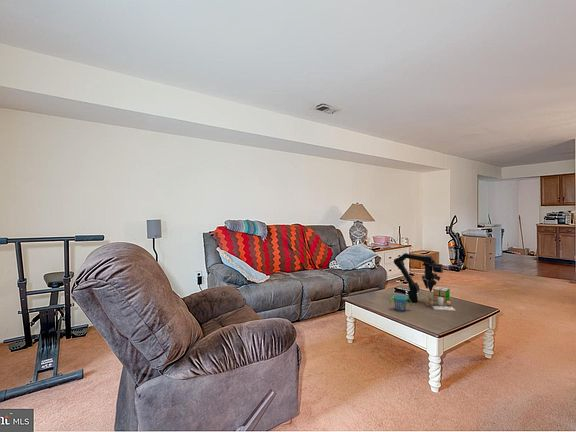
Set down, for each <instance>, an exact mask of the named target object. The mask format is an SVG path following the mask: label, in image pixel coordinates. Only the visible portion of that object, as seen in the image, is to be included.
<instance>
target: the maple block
mask: <svg viewBox="0 0 576 432" xmlns="http://www.w3.org/2000/svg"><path fill="white" fill-rule="evenodd" d="M424 304H425V305H426V306H431V307H432V306H434V300H433V296H429V295H427V296H426V295H425V296H424Z"/></svg>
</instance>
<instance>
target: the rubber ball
mask: <svg viewBox="0 0 576 432" xmlns="http://www.w3.org/2000/svg"><path fill="white" fill-rule="evenodd" d="M445 305H447V306H452V302H451V301H450V300H449V301H447V302H446V303H445Z"/></svg>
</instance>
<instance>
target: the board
mask: <svg viewBox="0 0 576 432" xmlns="http://www.w3.org/2000/svg"><path fill="white" fill-rule="evenodd" d="M431 308H432V309H433V310H434V311H450V312H456V310H457V309H455V308H454V307H453V306H444V305H443V306H439V305H433V306H431Z"/></svg>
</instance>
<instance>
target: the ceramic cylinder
mask: <svg viewBox="0 0 576 432" xmlns="http://www.w3.org/2000/svg"><path fill="white" fill-rule="evenodd" d="M437 306H443V307H444V302H443V297H438V301H437Z"/></svg>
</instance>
